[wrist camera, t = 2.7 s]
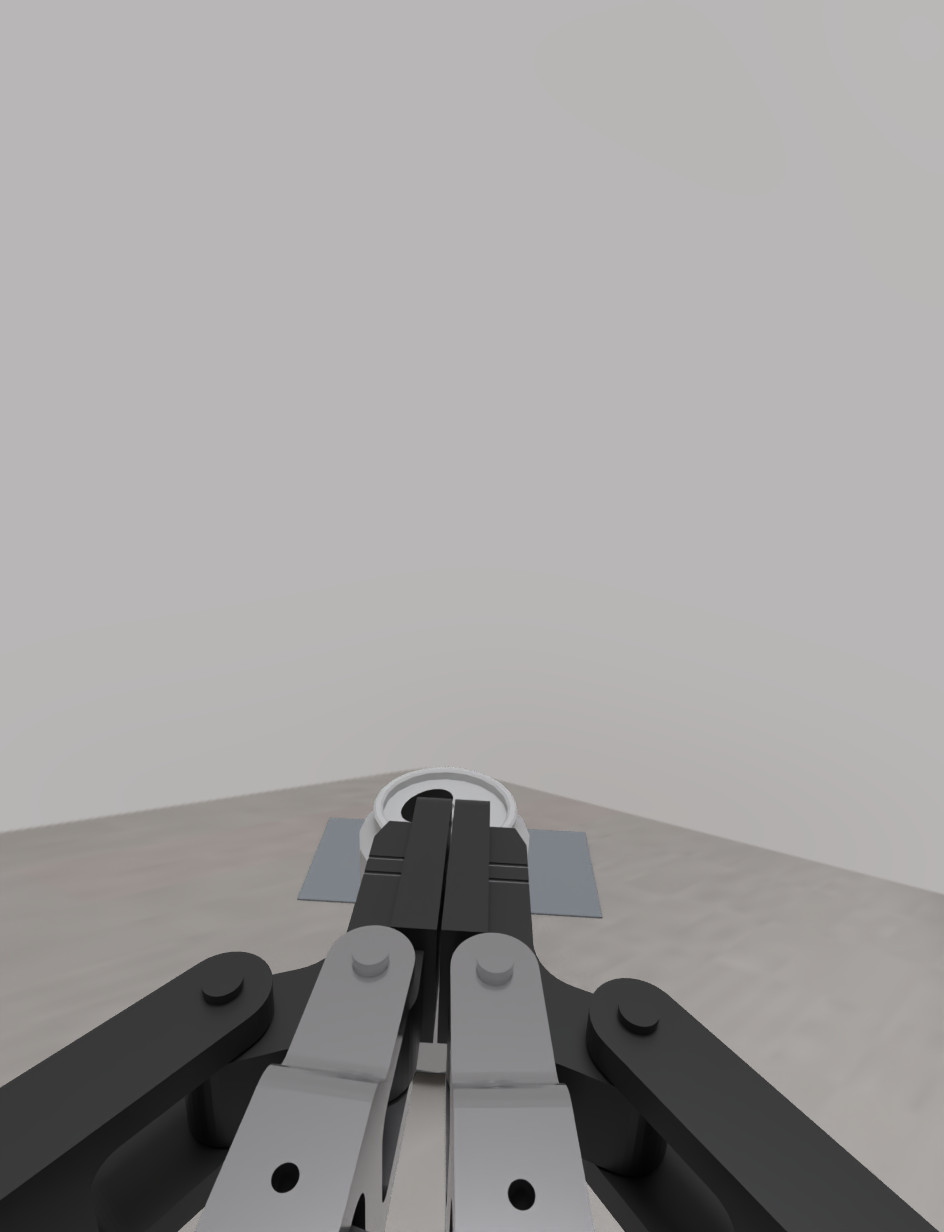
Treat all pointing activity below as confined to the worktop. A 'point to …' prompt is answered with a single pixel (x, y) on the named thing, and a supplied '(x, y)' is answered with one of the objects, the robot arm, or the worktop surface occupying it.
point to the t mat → (552, 868)
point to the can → (451, 784)
